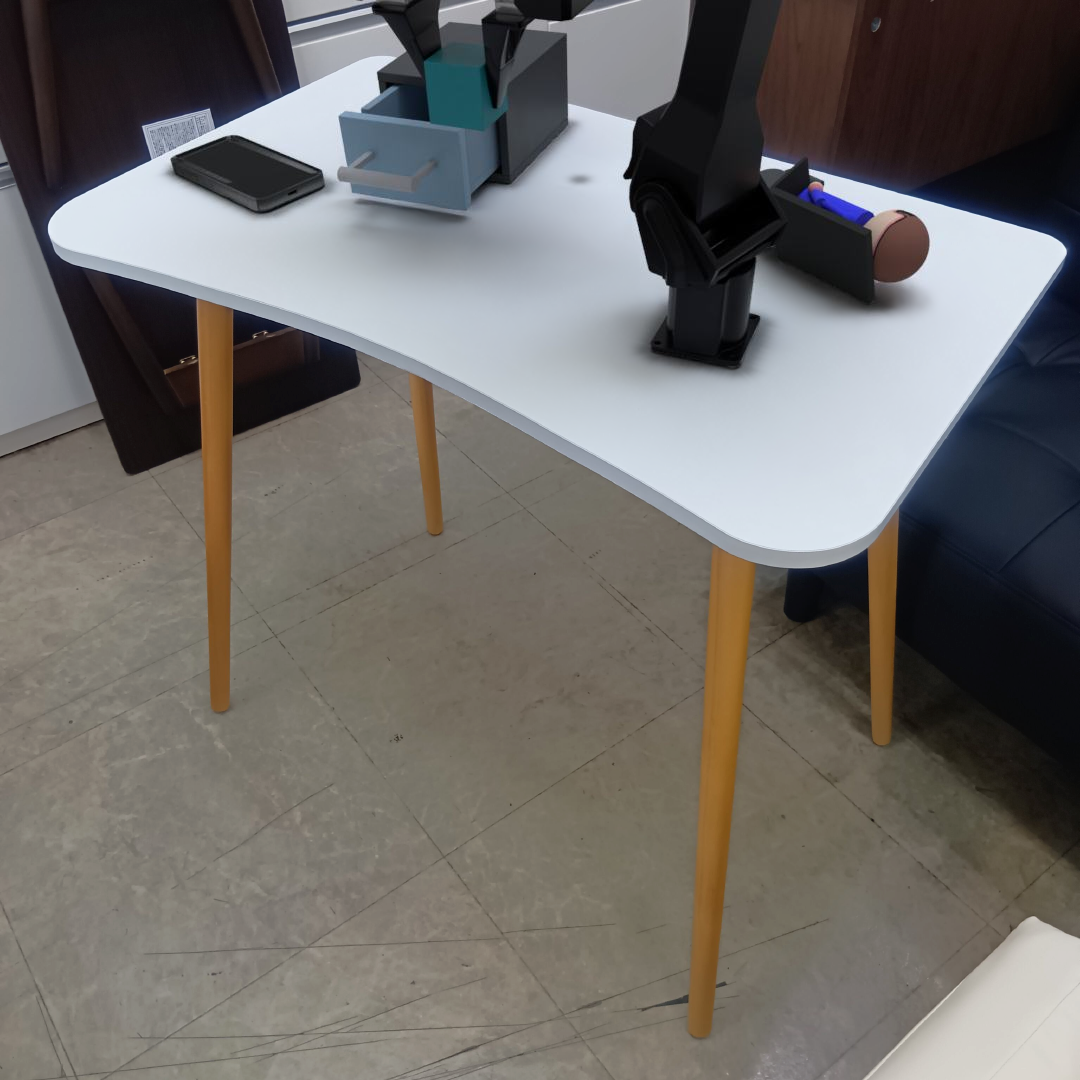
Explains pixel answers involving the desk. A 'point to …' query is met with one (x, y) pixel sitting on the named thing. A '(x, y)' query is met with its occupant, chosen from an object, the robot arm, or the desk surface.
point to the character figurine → (843, 236)
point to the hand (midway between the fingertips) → (468, 103)
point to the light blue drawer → (414, 152)
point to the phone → (248, 172)
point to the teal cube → (460, 88)
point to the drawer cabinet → (512, 92)
